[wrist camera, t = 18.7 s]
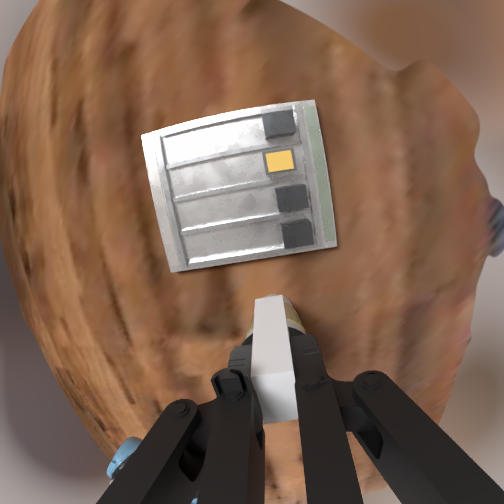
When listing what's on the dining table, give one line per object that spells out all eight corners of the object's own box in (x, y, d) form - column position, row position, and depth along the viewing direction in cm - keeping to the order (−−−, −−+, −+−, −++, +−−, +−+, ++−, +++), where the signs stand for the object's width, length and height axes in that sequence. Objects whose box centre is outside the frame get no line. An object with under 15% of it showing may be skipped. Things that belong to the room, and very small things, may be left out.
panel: (174, 268, 45) (162, 282, 40) (146, 136, 40) (129, 132, 34) (334, 243, 43) (344, 254, 37) (312, 102, 37) (319, 92, 31)
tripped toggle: (265, 174, 38) (266, 175, 34) (262, 154, 38) (261, 152, 34) (294, 170, 38) (297, 170, 34) (290, 149, 37) (293, 147, 33)
